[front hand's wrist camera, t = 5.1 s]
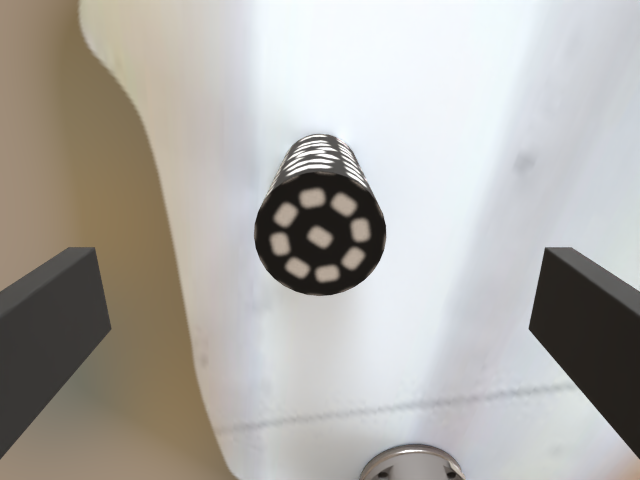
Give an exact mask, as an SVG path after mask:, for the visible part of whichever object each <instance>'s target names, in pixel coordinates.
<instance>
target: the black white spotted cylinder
mask: <svg viewBox="0 0 640 480" xmlns="http://www.w3.org/2000/svg"><path fill="white" fill-rule="evenodd" d="M254 239H255V246H256V250H257V253H258V255H259V258H260V260H261V262H262V264H263V265H264V267H265V268H266V270H267V271H268V272H269V273H270V274H271V275H272V276H273V278H274V279H276V280H277V281H278V282H280V283H281V284H282V285H284V286H286V287H288V288H290V289H292V290H294V291H296V292H300V293H303V294H307V295H316V296H324V295H333V294H337V293H341V292H344V291H346V290H349V289H351V288H353V287H355V286H356V285H358V284H359V283H361V282H362V281H364V280H365V279H366V278H367V277H368V276H369V275H370V274H371V273H372V272H373V270H374V269H375V267H376V266H377V264H378V263H379V261H380V259H381V256H382V254H383V251H384V247H385V242H386V225H385V221H384V216H383V213H382V211H381V209H380V207H379V205H378V203H377V201H376V199H375V197H374V194H373V192H372V190H371V188H370V186H369V184H368V182H367V180H366V178H365V176H364V174H363V172H362V170H361V168H360V166H359V164H358V162H357V159H356V157H355V155H354V153H353V152H352V150H351V149H350V148H349V146H348V145H346V144H345V143H344V142H343V141H341V140H340V139H338V138H336V137H333V136H330V135H325V134H314V135H310V136H307V137H304V138H302V139H300V140H299V141H297V142H296V143H295V144H294V145H293V146H292V147H291V148H290V149H289V151H288V152H287V154H286V156H285V158H284V160H283V162H282V164H281V166H280V168H279V170H278V172H277V174H276V176H275V178H274V180H273V182H272V185H271V187H270V189H269V191H268V193H267V195H266V197H265V199H264V201H263V203H262V205H261V207H260V209H259V211H258V214H257V218H256V222H255V230H254Z"/></svg>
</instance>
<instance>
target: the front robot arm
mask: <svg viewBox="0 0 640 480" xmlns="http://www.w3.org/2000/svg"><path fill="white" fill-rule="evenodd" d="M110 330H111V324H110V319H109V315H108V310H107V305H106V300H105V295H104V290H103V285H102V280H101V276H100V271H99V266H98V261H97V256H96V251H95V248H94V247H82V248H81V247H74V248H73V247H69V248H67V249H65V250H64V251H62V252H61V253H59V254H58V255H56V256H55V257H53V258H52V259H50V260H48V261H47V262H45V263H44V264H42V265H41V266H39V267H38V268H36V269H35V270H33V271H32V272H30V273H28V274H27V275H25V276H24V277H22V278H21V279H19V280H18V281H16V282H15V283H13V284H12V285H10V286H8V287H7V288H5V289H4V290H2V291H1V292H0V459H1V458H2V457H3V456H4V454H5V453H6V452H7V451H8V450H9V449H10V447H11V446H12V445H13V444H14V443H15V442H16V440H17V439H18V438H19V437H20V436H21V434H22V433H23V432H24V431H25V430H26V429H27V427H28V426H29V425H30V424H31V423H32V422H33V420H34V419H35V418H36V417H37V416H38V415H39V413H40V412H41V411H42V410H43V409H44V407H45V406H46V405H47V404H48V403H49V402H50V400H51V399H52V398H53V397H54V396H55V395H56V393H57V392H58V391H59V390H60V389H61V388H62V386H63V385H64V384H65V383H66V382H67V381H68V379H69V378H70V377H71V376H72V375H73V373H74V372H75V371H76V370H77V369H78V368H79V366H80V365H81V364H82V363H83V362H84V361H85V359H86V358H87V357H88V356H89V355H90V354H91V352H92V351H93V350H94V349H95V348H96V346H97V345H98V344H99V343H100V342H101V341H102V339H103V338H104V337H105V336H106V335H107V334H108V332H109V331H110ZM529 330H530V331H531V332H532V334H533V335H534V336H535V337H536V338H537V339H538V341H539V342H540V343H541V344H542V345H543V347H544V348H545V349H546V350H547V351H548V352H549V354H550V355H551V356H552V357H553V358H554V359H555V361H556V362H557V363H558V364H559V365H560V366H561V368H562V369H563V370H564V371H565V372H566V373H567V375H568V376H569V377H570V378H571V379H572V381H573V382H574V383H575V384H576V385H577V386H578V388H579V389H580V390H581V391H582V392H583V393H584V395H585V396H586V397H587V398H588V399H589V400H590V402H591V403H592V404H593V405H594V406H595V407H596V409H597V410H598V411H599V412H600V413H601V415H602V416H603V417H604V418H605V419H606V420H607V422H608V423H609V424H610V425H611V426H612V427H613V429H614V430H615V431H616V432H617V433H618V434H619V436H620V437H621V438H622V439H623V440H624V442H625V443H626V444H627V445H628V446H629V447H630V449H631V450H632V451H633V452H634V453H635V454H636V456H637V457H638V458H639V459H640V292H639V291H638V290H636V289H635V288H633V287H632V286H630V285H629V284H627V283H625V282H624V281H622V280H621V279H619V278H618V277H616V276H615V275H613V274H612V273H610V272H609V271H607V270H605V269H604V268H602V267H601V266H599V265H598V264H596V263H595V262H593V261H592V260H590V259H588V258H587V257H585V256H584V255H582V254H581V253H579V252H578V251H576V250H575V249H573V248H572V247H545V251H544V256H543V261H542V266H541V271H540V275H539V280H538V285H537V290H536V295H535V300H534V305H533V310H532V315H531V319H530V324H529ZM359 480H466V479H465V476H464V474H463V473H462V471H461V468H460V466H459V464H458V463H457V462H456V460H455V459H454V458H453V457H452V456H450V455H449V454H448V453H446V452H444V451H442V450H440V449H438V448H435V447H431V446H427V445H416V444H414V445H403V446H398V447H394V448H391V449H389V450H386V451H384V452H382V453H380V454H379V455H377V456H376V457H374V458H373V459H372V460H371V461H370V462H369V463H368V464H367V465H366V466H365V468H364V469H363V471H362V473H361V476H360V479H359Z"/></svg>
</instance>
